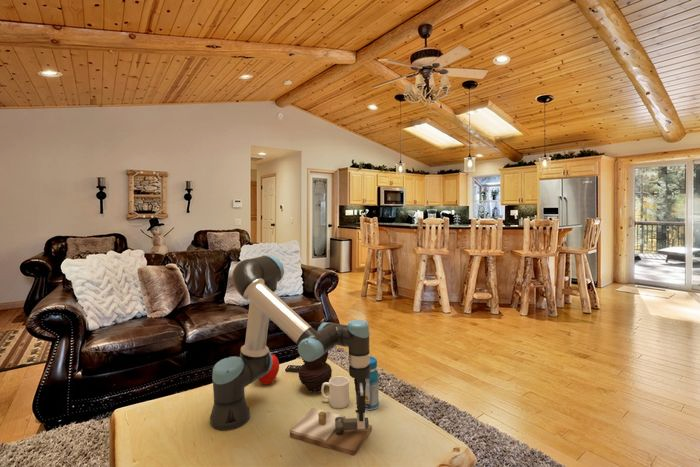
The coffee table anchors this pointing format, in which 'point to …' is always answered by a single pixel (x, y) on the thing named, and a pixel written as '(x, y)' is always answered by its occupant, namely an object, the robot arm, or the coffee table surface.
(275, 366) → the apple
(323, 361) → the vase
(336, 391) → the cup
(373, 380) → the beverage bottle
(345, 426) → the bar
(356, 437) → the door board
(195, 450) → the coffee table surface
